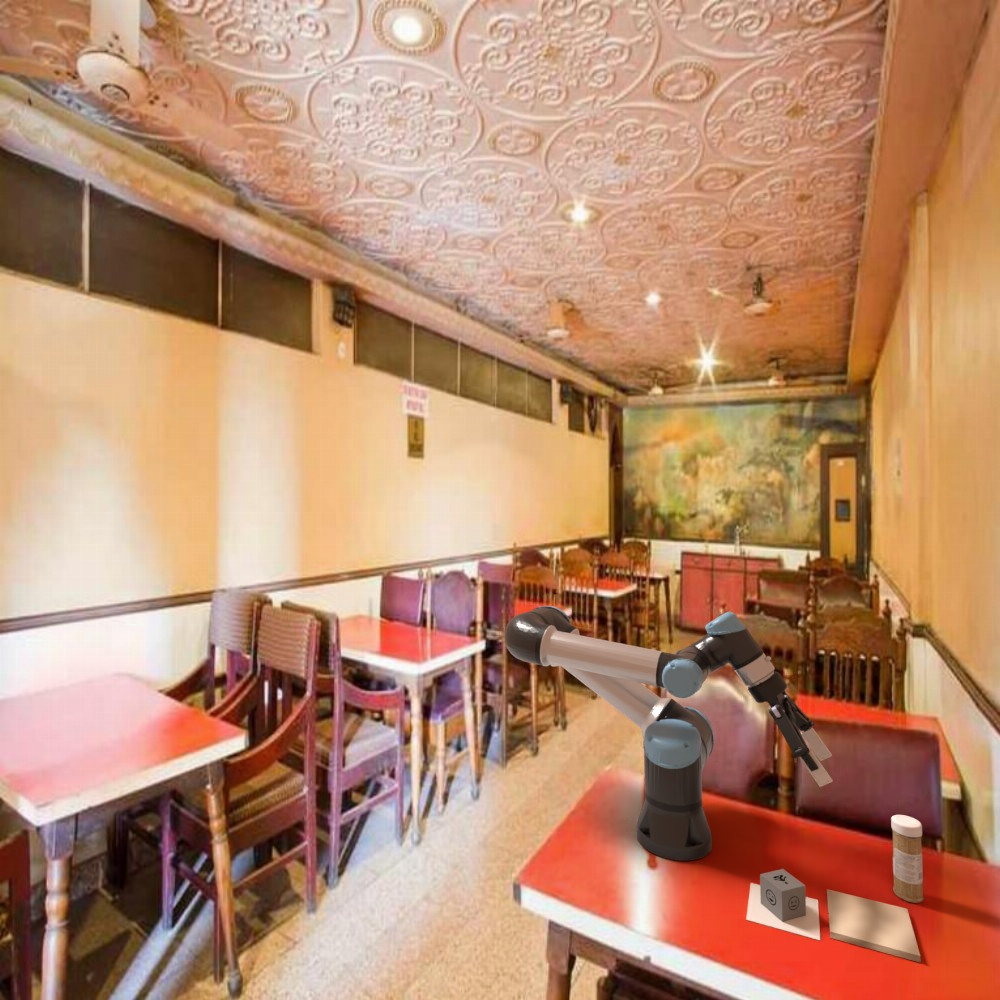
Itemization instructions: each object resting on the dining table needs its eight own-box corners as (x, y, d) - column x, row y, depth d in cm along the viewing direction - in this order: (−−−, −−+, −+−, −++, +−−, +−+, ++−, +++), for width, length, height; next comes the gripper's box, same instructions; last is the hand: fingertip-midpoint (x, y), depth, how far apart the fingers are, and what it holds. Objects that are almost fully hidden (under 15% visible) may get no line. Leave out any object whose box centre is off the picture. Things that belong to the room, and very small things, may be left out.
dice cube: (783, 897, 105) (782, 868, 105) (805, 915, 100) (805, 885, 100) (760, 903, 103) (760, 874, 103) (782, 921, 98) (781, 891, 99)
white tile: (746, 919, 99) (746, 919, 99) (750, 883, 109) (750, 882, 109) (820, 940, 94) (820, 939, 94) (817, 900, 104) (817, 899, 104)
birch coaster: (830, 937, 95) (830, 931, 95) (827, 894, 106) (826, 889, 106) (920, 962, 89) (920, 956, 89) (907, 914, 100) (907, 908, 100)
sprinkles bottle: (902, 885, 108) (900, 811, 108) (929, 899, 104) (927, 822, 104) (887, 892, 106) (885, 817, 106) (914, 907, 102) (912, 829, 102)
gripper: (771, 685, 116) (844, 788, 110) (780, 657, 138) (841, 741, 131) (739, 703, 119) (808, 803, 113) (752, 672, 141) (811, 755, 134)
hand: (826, 770), depth 122 cm, fingers open, 13 cm apart
